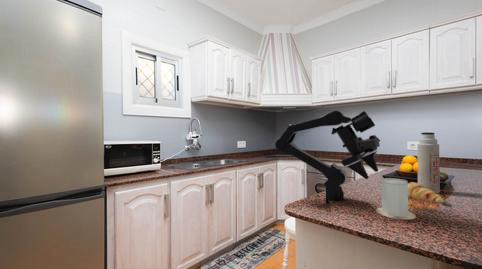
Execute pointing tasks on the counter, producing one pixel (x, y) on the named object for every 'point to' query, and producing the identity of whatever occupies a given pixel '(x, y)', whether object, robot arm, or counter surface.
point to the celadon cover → (394, 197)
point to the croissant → (422, 193)
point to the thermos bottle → (428, 162)
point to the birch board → (410, 216)
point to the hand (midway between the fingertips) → (372, 174)
